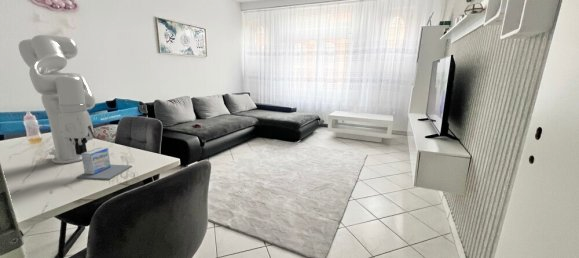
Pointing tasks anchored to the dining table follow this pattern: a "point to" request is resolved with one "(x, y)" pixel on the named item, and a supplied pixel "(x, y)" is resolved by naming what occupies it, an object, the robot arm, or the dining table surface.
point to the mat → (106, 172)
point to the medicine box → (96, 160)
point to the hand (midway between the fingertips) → (81, 153)
